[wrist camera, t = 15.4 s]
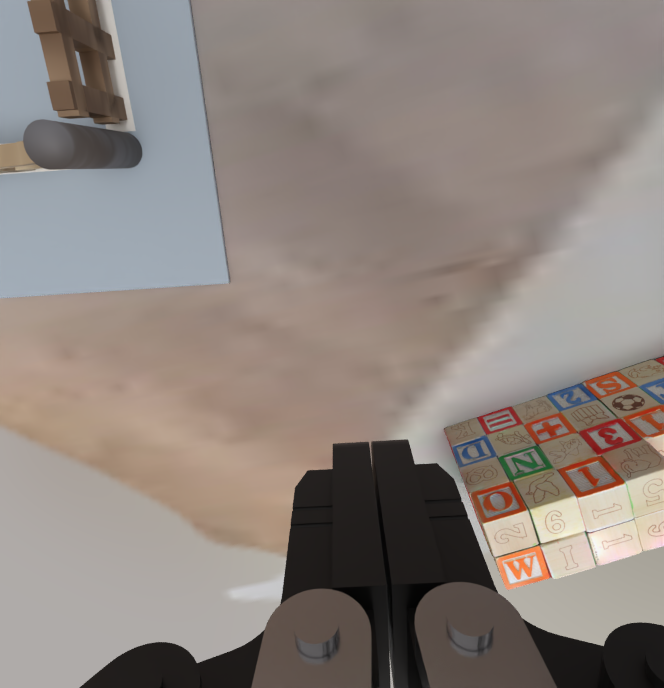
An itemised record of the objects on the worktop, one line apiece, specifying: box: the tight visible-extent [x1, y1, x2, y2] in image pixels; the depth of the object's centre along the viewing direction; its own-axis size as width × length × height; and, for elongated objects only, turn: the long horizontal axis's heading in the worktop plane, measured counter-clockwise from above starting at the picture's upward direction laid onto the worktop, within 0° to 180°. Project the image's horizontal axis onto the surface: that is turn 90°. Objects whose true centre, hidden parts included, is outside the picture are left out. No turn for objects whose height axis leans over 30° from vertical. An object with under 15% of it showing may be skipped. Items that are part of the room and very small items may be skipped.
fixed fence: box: [23, 0, 142, 170], centre depth 28 cm, size 12×2×10 cm, turn 4°
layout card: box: [0, 0, 230, 298], centre depth 34 cm, size 22×24×1 cm
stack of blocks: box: [444, 357, 664, 590], centre depth 36 cm, size 21×6×12 cm, turn 112°
